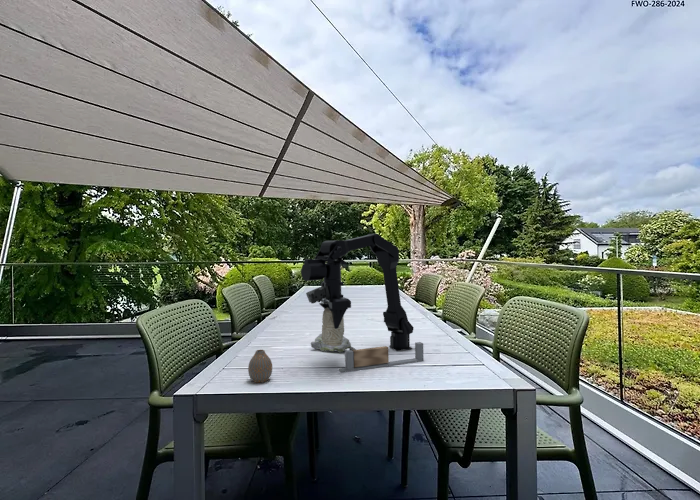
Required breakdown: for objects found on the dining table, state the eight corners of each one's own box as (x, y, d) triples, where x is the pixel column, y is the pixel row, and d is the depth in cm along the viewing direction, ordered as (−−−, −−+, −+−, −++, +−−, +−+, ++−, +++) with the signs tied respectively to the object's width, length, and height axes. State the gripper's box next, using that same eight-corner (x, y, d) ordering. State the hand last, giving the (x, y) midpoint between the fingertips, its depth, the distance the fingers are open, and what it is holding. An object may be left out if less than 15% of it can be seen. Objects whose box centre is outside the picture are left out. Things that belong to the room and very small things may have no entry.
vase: (250, 376, 113) (250, 347, 112) (273, 375, 113) (273, 347, 113) (246, 385, 106) (245, 354, 106) (270, 384, 106) (270, 353, 106)
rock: (356, 350, 140) (356, 332, 140) (348, 355, 134) (348, 336, 134) (320, 346, 147) (320, 329, 147) (310, 351, 140) (310, 333, 140)
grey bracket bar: (420, 359, 128) (419, 341, 128) (423, 361, 125) (423, 343, 125) (338, 370, 117) (338, 351, 117) (341, 372, 115) (341, 353, 115)
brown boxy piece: (379, 357, 127) (379, 342, 127) (388, 362, 121) (388, 347, 121) (347, 361, 123) (346, 346, 123) (354, 367, 117) (354, 351, 117)
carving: (348, 345, 121) (347, 308, 121) (328, 349, 117) (327, 311, 117) (337, 341, 126) (337, 305, 126) (318, 344, 122) (318, 308, 122)
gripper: (301, 277, 128) (302, 323, 128) (316, 282, 110) (317, 335, 110) (332, 276, 131) (333, 320, 132) (351, 280, 114) (352, 331, 114)
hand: (333, 326), depth 122 cm, fingers closed on carving, 6 cm apart
